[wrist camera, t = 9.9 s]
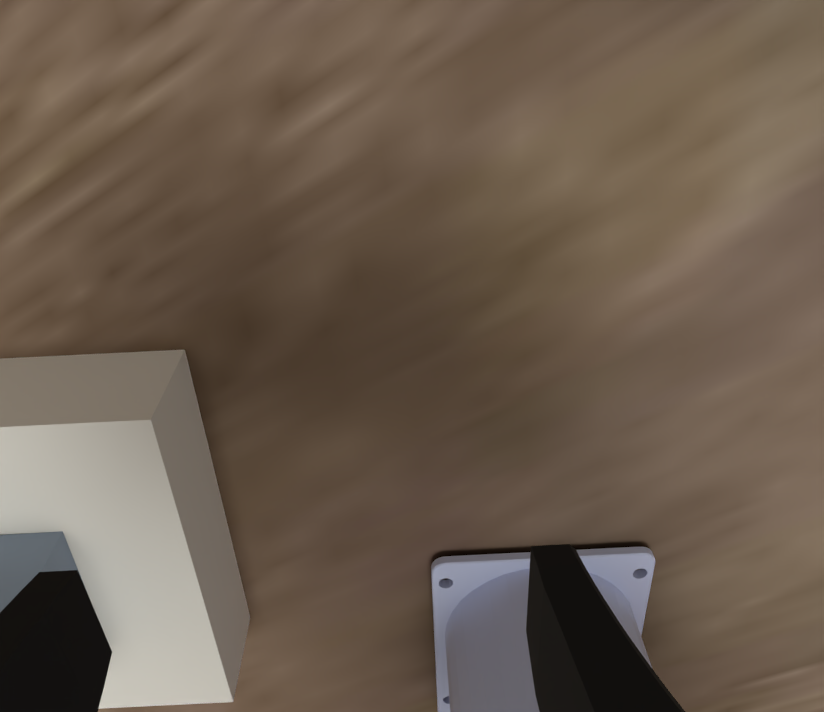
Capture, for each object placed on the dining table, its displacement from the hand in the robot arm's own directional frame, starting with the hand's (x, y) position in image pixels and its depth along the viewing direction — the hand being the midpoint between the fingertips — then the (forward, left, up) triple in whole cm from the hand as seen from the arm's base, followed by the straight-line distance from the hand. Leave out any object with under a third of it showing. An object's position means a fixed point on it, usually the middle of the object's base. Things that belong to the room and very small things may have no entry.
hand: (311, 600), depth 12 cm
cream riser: (-7, +11, -11) cm, 17 cm away
